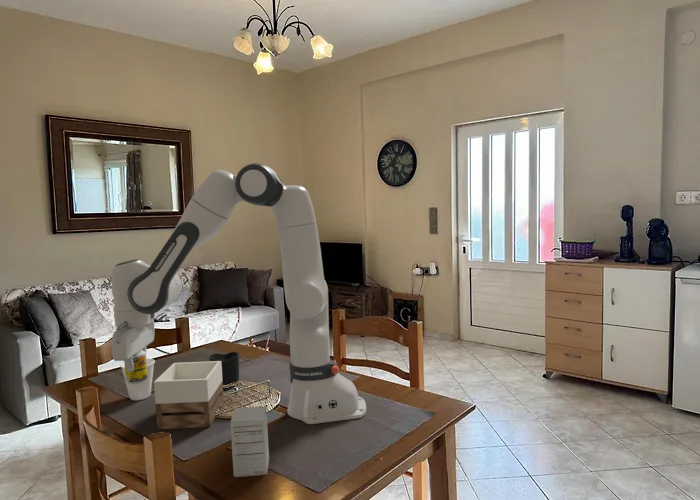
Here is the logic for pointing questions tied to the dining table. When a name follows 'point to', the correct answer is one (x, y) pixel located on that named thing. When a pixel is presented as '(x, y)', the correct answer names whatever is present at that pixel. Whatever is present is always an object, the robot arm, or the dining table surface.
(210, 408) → the lower crate
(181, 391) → the upper crate
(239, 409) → the supplement box
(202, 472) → the dining table surface
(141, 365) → the supplement bottle
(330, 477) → the dining table surface
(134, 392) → the cup
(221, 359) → the pen holder
